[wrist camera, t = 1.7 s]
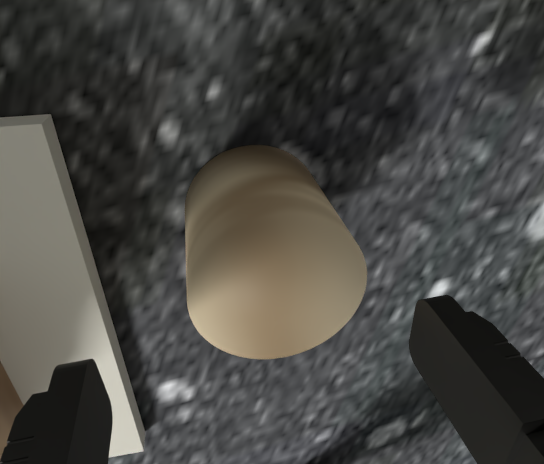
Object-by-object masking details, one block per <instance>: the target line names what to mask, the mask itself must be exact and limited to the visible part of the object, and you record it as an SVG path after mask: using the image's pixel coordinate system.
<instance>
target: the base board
mask: <svg viewBox="0 0 544 464" xmlns="http://www.w3.org/2000/svg"><path fill="white" fill-rule="evenodd" d="M87 359H93V360H94V361H95V362H96V365H97V367H98V370H99V372H100V375H101V378H102V380H103V383H104V385H105V388H106V391H107V393H108V396H109V398H110V402H111V406H112V417H113V423H112V434H111V442H110V450H109V457H114V456H120V455H125V454H131V453H136V452H142V451H144V441H145V430H144V426H143V423H142V420H141V416H140V413H139V410H138V406H137V403H136V399H135V396H134V393H133V389H132V386H131V383H130V379H129V376H128V372H127V369H126V366H125V362H124V359H123V356H122V352H121V349H120V346H119V342H118V339H117V335H116V332H115V329H114V325H113V322H112V319H111V315H110V312H109V308H108V305H107V302H106V298H105V295H104V292H103V288H102V285H101V282H100V278H99V275H98V271H97V268H96V265H95V261H94V258H93V255H92V251H91V248H90V244H89V241H88V238H87V234H86V231H85V228H84V224H83V221H82V218H81V214H80V211H79V207H78V204H77V201H76V197H75V194H74V191H73V187H72V184H71V180H70V177H69V174H68V170H67V167H66V164H65V160H64V157H63V154H62V150H61V147H60V143H59V140H58V137H57V133H56V130H55V127H54V123H53V120H52V117H51V114H44V115H29V116H14V117H0V361H1V363H2V365H3V367H4V369H5V371H6V373H7V374H8V376H9V378H10V380H11V382H12V384H13V386H14V388H15V390H16V392H17V394H18V396H19V397H20V399H21V401H22V403H23V405H25V403H26V402H27V401H28V399H29V398H30V397H31V396H32V394H36V393H41V392H46V391H48V388H49V384H50V381H51V377H52V374H53V371H54V369H55V367H56V366H57V365H60V364H65V363H71V362H76V361H82V360H87Z"/></svg>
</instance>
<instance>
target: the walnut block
mask: <svg viewBox="0 0 544 464" xmlns="http://www.w3.org/2000/svg"><path fill="white" fill-rule="evenodd" d="M23 406H24V405H23V403H22V401H21V399H20V397H19V396H18V394H17V392H16V390H15V388H14V386H13V384H12V382H11V380H10V378H9V376H8V374H7V373H6V371H5V369H4V367H3V365H2V363H1V361H0V459H1V456H2V453H3V451H4V448H5V447H6V446H7V439H8V436H9V433H10V430H11V427H12V425H13V422H14V419H15V417H16V415H17V414H18V413H19V411H20V410H21V409H22V407H23Z"/></svg>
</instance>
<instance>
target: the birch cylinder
mask: <svg viewBox="0 0 544 464" xmlns="http://www.w3.org/2000/svg"><path fill="white" fill-rule="evenodd" d="M185 239H186V283H187V306H188V311H189V315H190V318H191V320H192V322H193V324H194V326H195V327H196V329H197V330H198V332H199V333H200V334H201V335H202V336H203V337H204V338H205V339H206V340H207V341H208V342H210V343H211V344H212V345H214V346H215V347H217V348H219V349H220V350H222V351H225V352H227V353H229V354H233V355H236V356H239V357H245V358H252V359H273V358H282V357H286V356H291V355H294V354H298V353H301V352H304V351H306V350H309V349H311V348H313V347H315V346H317V345H319V344H321V343H323V342H324V341H326V340H327V339H329V338H330V337H332V336H333V335H334V334H335V333H337V332H338V331H339V330H340V329H341V328H342V327H343V326H344V325H345V324H346V323H347V322H348V321H349V320H350V319H351V317H352V316H353V314H354V313H355V312H356V310H357V308H358V307H359V305H360V303H361V301H362V298H363V295H364V292H365V288H366V283H367V268H366V262H365V259H364V255H363V253H362V251H361V249H360V247H359V246H358V244H357V243H356V241H355V240H354V238H353V237H352V235H351V234H350V232H349V231H348V229H347V228H346V226H345V225H344V223H343V222H342V220H341V219H340V217H339V216H338V214H337V212H336V211H335V209H334V208H333V206H332V205H331V203H330V202H329V200H328V199H327V197H326V196H325V194H324V193H323V191H322V190H321V188H320V187H319V185H318V184H317V182H316V181H315V179H314V178H313V176H312V175H311V173H310V172H309V170H308V169H307V168H306V166H305V165H304V164H303V163H302V162H301V161H300V160H299V159H297V158H296V157H295V156H293V155H292V154H290V153H288V152H286V151H284V150H281V149H279V148H275V147H271V146H265V145H247V146H240V147H237V148H233V149H230V150H228V151H225V152H223V153H221V154H219V155H218V156H216V157H214V158H213V159H212V160H210V161H209V162H208V163H206V164H205V165H204V166H203V167H202V168H201V169H200V171H199V172H198V173H197V175H196V176H195V177H194V179H193V181H192V183H191V184H190V187H189V189H188V192H187V196H186V200H185Z"/></svg>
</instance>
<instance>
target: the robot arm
mask: <svg viewBox="0 0 544 464" xmlns="http://www.w3.org/2000/svg"><path fill="white" fill-rule="evenodd" d="M409 349H410V354H411V357H412V360H413V362H414V364H415V366H416V368H417V369H418V371H419V372H420V374H421V376H422V377H423V379H424V380H425V382H426V383H427V385H428V387H429V388H430V390H431V391H432V393H433V394H434V396H435V398H436V399H437V401H438V402H439V404H440V405H441V407H442V409H443V410H444V412H445V413H446V415H447V417H448V418H449V420H450V421H451V423H452V424H453V426H454V428H455V429H456V431H457V432H458V434H459V435H460V437H461V439H462V440H463V442H464V443H465V445H466V446H467V448H468V450H469V451H470V453H471V454H472V456H473V458H474V459H475V461H476V462H477V464H544V378H543V377H542V376H541V375H540V374H539V373H538V372H537V371H536V370H535V369H534V368H533V367H532V366H531V365H530V363H529V362H528V361H527V360H526V359H525V358H524V357H521V356H520V353H519V352H518V351H517V350H516V348H515V347H514V346H513V345H512V344H511V343H510V344H509V343H508V340H507V339H506V338H505V337H504V336H503V334H502V333H501V332H500V331H499V330H498V329H497V328H496V327H495V326H494V325H493V324H492V323H490V322H489V321H487V320H486V319H484V318H482V317H481V316H479V315H477V314H476V313H474V312H473V311H471V312H465V311H464V310H463V309H462V308H461V306H460V305H459V304H458V303H457V302H456V301H455V300H454V299H453V298H452V297H451V296H449V295H443V296H438V297H433V298H427V299H422V300H419V301H418V302H417V303H416V307H415V312H414V318H413V323H412V328H411V334H410V339H409ZM112 423H113V417H112V406H111V402H110V398H109V396H108V393H107V391H106V388H105V385H104V383H103V380H102V378H101V375H100V372H99V370H98V367H97V365H96V362H95V361H94V360H93V359H87V360H82V361H76V362H71V363H65V364H60V365H57V366H56V367H55V369H54V371H53V374H52V377H51V381H50V384H49V388H48V391H46V392H41V393H36V394H32V396H31V397H30V398H29V399H28V401H27V402H26V403H25V405H24V406H23V407H22V409H21V410H20V411H19V413H18V414H17V415H16V417H15V419H14V422H13V425H12V427H11V430H10V433H9V436H8V439H7V446H6V447H5V448H4V451H3V453H2V456H1V459H0V464H108V458H109V450H110V442H111V434H112Z"/></svg>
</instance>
